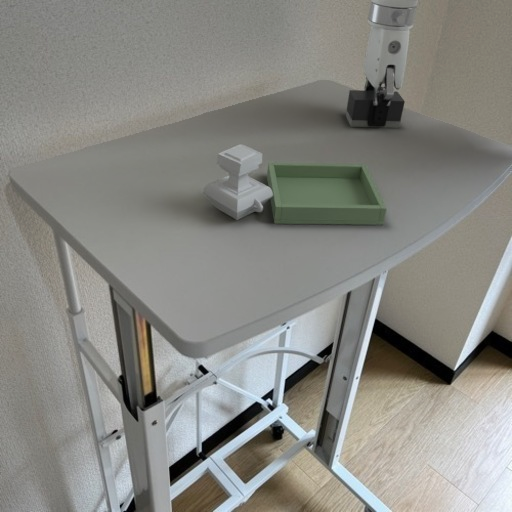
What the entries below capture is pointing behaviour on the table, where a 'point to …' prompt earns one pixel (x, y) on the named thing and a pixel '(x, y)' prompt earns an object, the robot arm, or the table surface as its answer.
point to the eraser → (361, 108)
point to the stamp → (238, 183)
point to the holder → (324, 194)
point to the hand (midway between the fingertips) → (372, 118)
